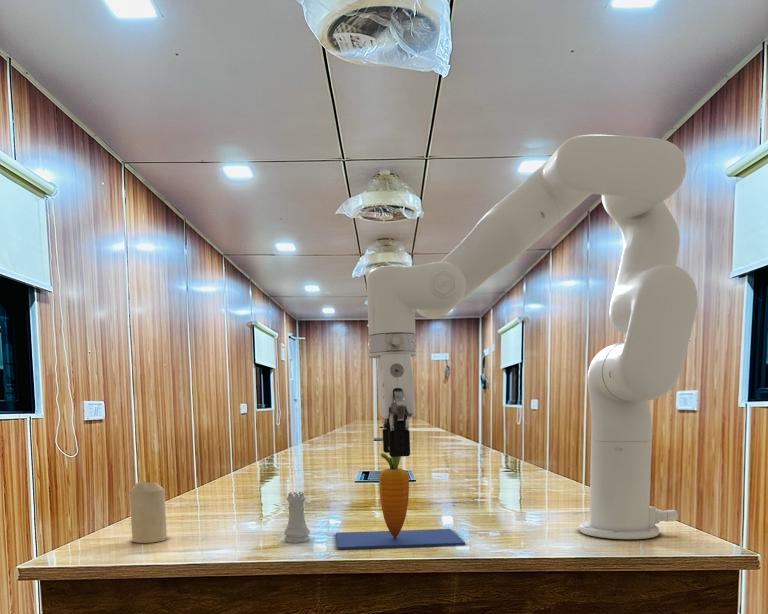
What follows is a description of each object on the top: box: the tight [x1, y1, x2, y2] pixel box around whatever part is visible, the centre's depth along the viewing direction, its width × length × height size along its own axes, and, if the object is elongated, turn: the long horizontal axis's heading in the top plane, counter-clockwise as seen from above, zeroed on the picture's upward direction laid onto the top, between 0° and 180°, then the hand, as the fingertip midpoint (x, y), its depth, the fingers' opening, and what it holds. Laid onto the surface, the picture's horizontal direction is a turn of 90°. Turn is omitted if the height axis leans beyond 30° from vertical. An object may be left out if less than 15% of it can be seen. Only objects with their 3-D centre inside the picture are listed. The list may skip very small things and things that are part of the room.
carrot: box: [378, 447, 410, 538], centre depth 107 cm, size 5×5×15 cm
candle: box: [129, 480, 168, 544], centre depth 111 cm, size 6×6×10 cm
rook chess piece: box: [283, 491, 312, 544], centre depth 108 cm, size 4×4×8 cm
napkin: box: [335, 528, 466, 551], centre depth 108 cm, size 20×12×1 cm, turn 96°
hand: (396, 454), depth 107 cm, fingers open, 9 cm apart
